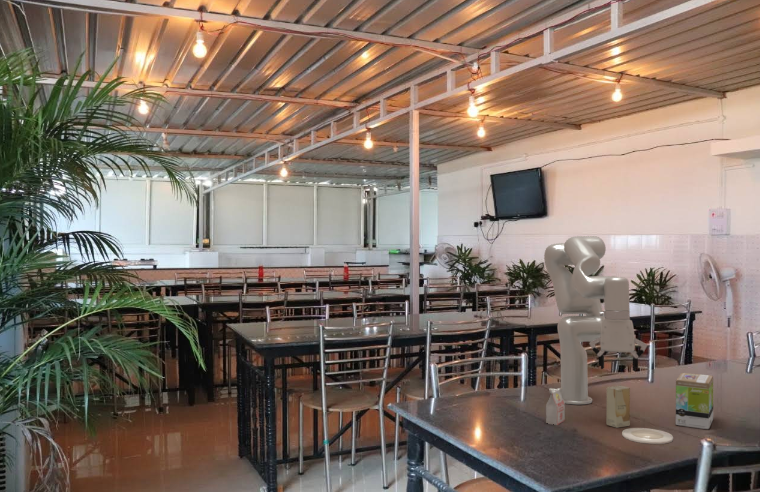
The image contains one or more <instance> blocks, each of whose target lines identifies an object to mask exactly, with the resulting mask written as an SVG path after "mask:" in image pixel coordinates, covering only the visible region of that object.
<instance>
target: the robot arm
mask: <svg viewBox="0 0 760 492" xmlns="http://www.w3.org/2000/svg"><path fill="white" fill-rule="evenodd" d="M606 251H607V250H606V244H605V242H604V240H603V239H602V238H601V237H599V236H595V235H593V236H589V235H587V236H585V235H583V236H581V235H580V236H579V235H577V236H572V237H569V238H568V239H566V241H565V242H561V243H560V242H559V243H553V244H550V245H548V246H547V247H546V248H545V250H544V255H543V256H544V258H543V259H544V260H543V261H544V265H545V268H546V271H547V273H548V276H549V277H550V279H551V282H552V287H553V292H554V298H555V302H556V307H557V309H558V311H559V312H560V313H561V314H564V315H568V316H564V317H561V318H560V319H559V321H558V322H557V333H558V334H557V335H558V338H559V347H560V348H559V349H560V387H558V388H554V387H549V389H548V390H549V392H548V393H549V394H551V393H553V392H555V391H557V390H560V393H561V396H562V398H563V400H564V403H565V405H566V404H567V405H580V406H581V405H590V404H591V403H592V402H593V398H592V397H591V396H589V393H588V390H589V387H588V385H589V384H588V383H589V382H588V381H589V380H588V379H589V378H588V376H589V375H588V353H587V351H586V349H585V348H584V346H583V345H582V343H583V342H589V346H590V347H591V350H592V351H593V353H595V355H597V357H598V367H600V370H604V368H605V355H604V353H605V352H607V353H609V352H612V353H630V355H632V357H633V358H632V371H633V372H636V371H637V369H638V368H639V358H640V357H641V356H642V355H643V354H644V353H645V350H646V349H647V347H648V344H647V343H645V342H643V341H641V340H639V339H638V338H636V337H635V330H634V329H635V328H634V323H633V320H631V318H630V309H631V308H630V283H629V279H628V278H626V277H621V276H620V277H619V276H615V275H612V276H610V275H606V276H605V275H604V276H603V275H600V276H599V275H598V276H597V275H595V276H591V275H594V273H596V272H597V271H598V270H599V268H600V266H601V259H603V258H604V256H605V255H606V254H605V253H606ZM565 266H574V268H573V271H572V272H571V271H570V270H569V269H568V268H566V267H565ZM601 300H604V307H602V303H601ZM603 308H604V310H603ZM598 343H600V344H599V345H600V349H598V347H596V344H598ZM636 345H638V346H640V347H641V348H640V349H639V350H638V351H636V350H635V347H636Z"/></svg>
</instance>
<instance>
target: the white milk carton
mask: <svg viewBox="0 0 760 492" xmlns="http://www.w3.org/2000/svg"><path fill="white" fill-rule="evenodd" d="M565 405H566V403H564V400H563V398H562V396H561V393H560V390H557V391H555V392H553V393H550V395H549V398H548V400H547V402H546V404H545V423H548V425H553V424H554V425H553V426H559V425H560V424H561V423H564V422H565V421H566V415H565V414H566V413H565V412H566V411H565V410H566V408H565V407H566V406H565Z"/></svg>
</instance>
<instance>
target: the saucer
mask: <svg viewBox="0 0 760 492" xmlns="http://www.w3.org/2000/svg"><path fill="white" fill-rule="evenodd" d="M621 435H622V437H623V438H624V439H626V440H627V441H631V442H634V443H639V444H648V445H666V444H670V443H672V442H673V441H674V437H673V435H672V434H671V433H669V432H666V431H664V430H661V429H655V428H646V427H630V428H626V429H624V430H622V432H621Z"/></svg>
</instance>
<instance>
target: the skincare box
mask: <svg viewBox="0 0 760 492" xmlns="http://www.w3.org/2000/svg"><path fill="white" fill-rule="evenodd" d="M630 390H631V388H630V387H628V386H623V385H612V386H607V387H606V425H607V426H610V427H613V428H616V429H618V428H623V427H630V426H631V421H630V420H631V397H630V396H631V393H630V392H631V391H630Z"/></svg>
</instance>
